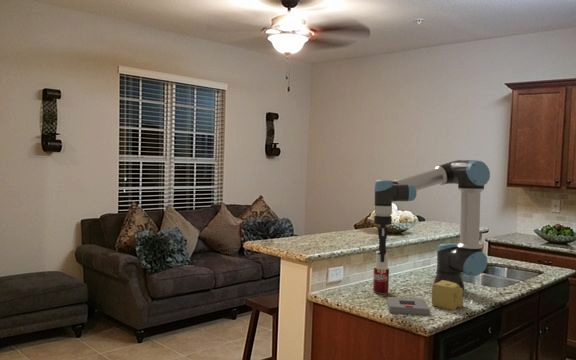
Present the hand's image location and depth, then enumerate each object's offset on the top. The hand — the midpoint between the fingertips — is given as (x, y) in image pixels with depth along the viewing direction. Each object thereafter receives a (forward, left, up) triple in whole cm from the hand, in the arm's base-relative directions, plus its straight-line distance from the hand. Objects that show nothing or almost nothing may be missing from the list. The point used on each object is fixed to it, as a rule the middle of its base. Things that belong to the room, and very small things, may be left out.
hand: (381, 267), depth 225 cm
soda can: (-1, -22, -17) cm, 28 cm away
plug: (0, 0, -2) cm, 2 cm away
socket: (-11, +4, -16) cm, 20 cm away
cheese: (-29, -4, -17) cm, 34 cm away
